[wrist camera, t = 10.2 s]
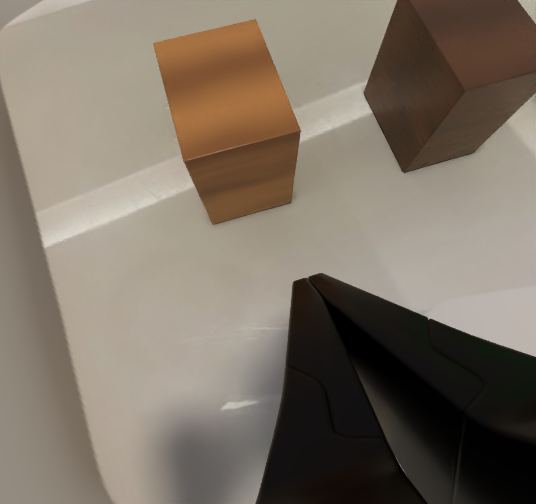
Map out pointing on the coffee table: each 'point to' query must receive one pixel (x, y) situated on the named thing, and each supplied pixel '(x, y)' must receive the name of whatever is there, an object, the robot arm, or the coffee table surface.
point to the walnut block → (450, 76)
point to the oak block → (231, 119)
